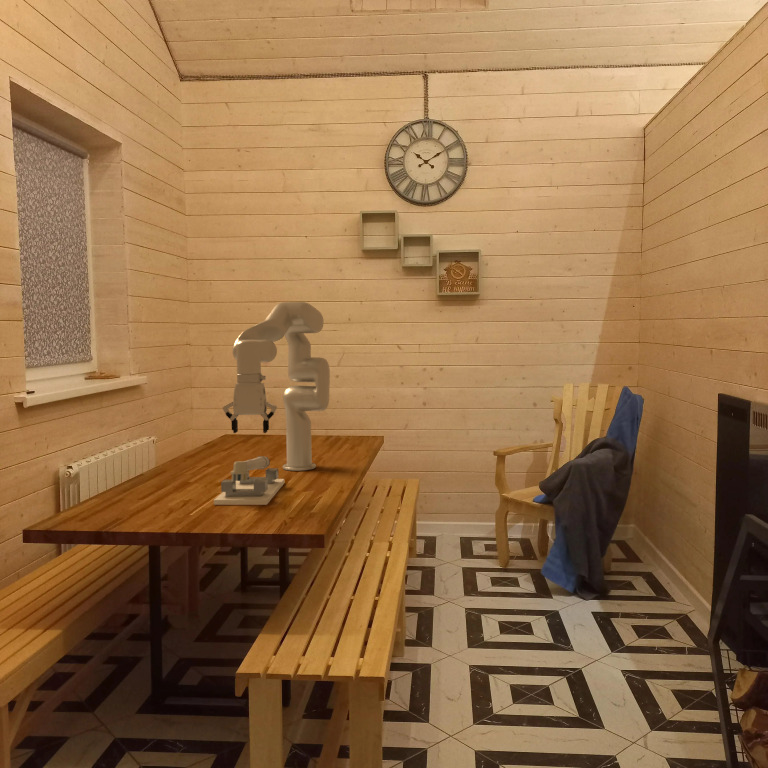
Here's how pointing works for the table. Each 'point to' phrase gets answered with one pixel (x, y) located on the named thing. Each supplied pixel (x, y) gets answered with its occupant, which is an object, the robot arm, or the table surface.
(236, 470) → the white handheld device
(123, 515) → the table surface
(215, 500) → the stand board
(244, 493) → the v blocks
